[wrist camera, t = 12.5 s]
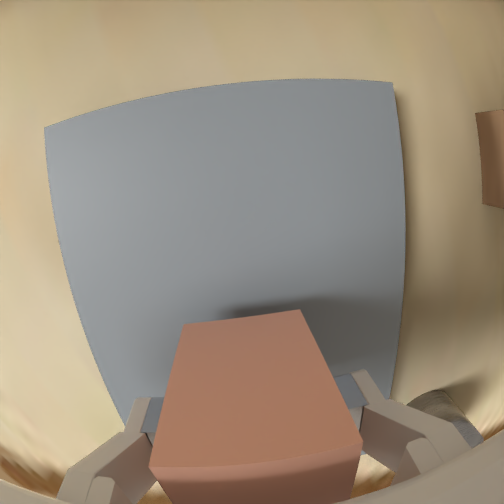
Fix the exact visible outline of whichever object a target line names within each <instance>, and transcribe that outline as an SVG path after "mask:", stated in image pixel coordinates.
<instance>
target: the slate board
mask: <svg viewBox="0 0 504 504" xmlns="http://www.w3.org/2000/svg"><path fill="white" fill-rule="evenodd" d="M44 134H45V149H46V161H47V170H48V179H49V187H50V194H51V201H52V207H53V213H54V219H55V224H56V229H57V234H58V239H59V244H60V248H61V253H62V257H63V261H64V265H65V269H66V273H67V277H68V281H69V284H70V288H71V291H72V295H73V298H74V301H75V305H76V308H77V311H78V314H79V317H80V320H81V323H82V326H83V329H84V332H85V335H86V338H87V340H88V343H89V346H90V348H91V351H92V354H93V356H94V359H95V361H96V364H97V366H98V369H99V371H100V374H101V376H102V378H103V381H104V383H105V385H106V387H107V390H108V392H109V394H110V396H111V398H112V400H113V403H114V405H115V407H116V409H117V411H118V413H119V415H120V417H121V419H122V421H123V423H124V425H125V426H126V423H127V421H128V418H129V415H130V412H131V409H132V406H133V404H134V401H135V399H136V398H138V397H151V398H152V397H165V393H166V389H167V385H168V381H169V377H170V373H171V369H172V365H173V362H174V358H175V354H176V350H177V347H178V343H179V339H180V335H181V332H182V328H183V325H184V324H190V323H199V322H209V321H217V320H226V319H234V318H242V317H249V316H257V315H264V314H271V313H278V312H285V311H291V310H298V309H300V310H301V312H302V314H303V316H304V318H305V321H306V323H307V325H308V327H309V329H310V331H311V333H312V335H313V337H314V339H315V341H316V343H317V345H318V347H319V349H320V351H321V353H322V355H323V357H324V360H325V362H326V364H327V366H328V368H329V370H330V372H331V374H332V376H333V377H334V376H339V375H343V374H347V373H350V372H354V371H358V370H362V369H365V370H366V371H367V372H368V374H369V375H370V377H371V378H372V380H373V381H374V383H375V384H376V386H377V387H378V389H379V390H380V392H381V393H382V395H383V396H384V398H385V400H387V399H389V397H390V392H391V387H392V381H393V375H394V369H395V363H396V356H397V349H398V341H399V333H400V324H401V314H402V303H403V290H404V272H405V191H404V173H403V160H402V149H401V139H400V130H399V122H398V115H397V108H396V101H395V95H394V89H393V84H392V83H391V82H381V81H367V80H349V79H285V80H266V81H252V82H241V83H231V84H223V85H215V86H207V87H200V88H194V89H188V90H182V91H176V92H171V93H165V94H160V95H155V96H151V97H146V98H142V99H137V100H133V101H129V102H125V103H121V104H117V105H113V106H110V107H106V108H102V109H99V110H96V111H92V112H89V113H86V114H82V115H79V116H76V117H73V118H70V119H67V120H64V121H61V122H59V123H56V124H53V125H50V126H48V127H45V128H44ZM364 454H367V453H365V452H364V451H361V455H364Z"/></svg>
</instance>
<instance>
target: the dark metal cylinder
mask: <svg viewBox="0 0 504 504" xmlns="http://www.w3.org/2000/svg"><path fill="white" fill-rule="evenodd" d="M407 406H409V407H412V408H414V409H417V410H419V411H422V412H424V413H427V414H429V415H432V416H435V417H437V418H440V419H443V420H445V421H448V422H451V423H452V424H453V425H454V426H455V427H456V429H457V430H458V431H459V433H460V434H461V435H462V437H463V438H464V439H465V440H466V442H467V443H468V444H469V446H470V447H471V448H474V447H476V446H478V445H479V444H481V443H483V437H482V436H481V434H480V433H479V432H478V431H477V429H476V428H475V427H474V426H473V425H472V423H471V422H470V421H469V420H468V419H467V417H466V416H465V415H464V414H463V413H462V411H461V410H460V409H459V408H458V407H457V405H456V404H455V403H454V402H453V401H452V400H451V398H450V397H449V396H448V395H447V394H446V393H445V392H444V391H441V390H434V391H430V392H427V393H425V394H422V395H420V396H419V397H417V398H415V399H414V400H412V401H411V402H410V403H408V404H407Z"/></svg>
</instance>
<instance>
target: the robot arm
mask: <svg viewBox="0 0 504 504" xmlns="http://www.w3.org/2000/svg"><path fill="white" fill-rule="evenodd" d="M333 378H334V380H335V382H336V385H337V387H338V389H339V391H340V393H341V395H342V397H343V399H344V401H345V403H346V406H347V408H348V410H349V412H350V414H351V416H352V418H353V420H354V423H355V425H356V427H357V429H358V431H359V433H360V435H361V437H362V440H363V446H362V451H364V452H365V453H367V454H368V455H370V456H371V457H373V458H374V459H376V460H377V461H379V462H380V463H382V464H383V465H385V466H386V467H388V468H389V469H391V470H392V471H394V472H396V474H395V476H394V479H393V481H392V483H391V485H390V487H387V488H384V489H381V490H378V491H375V492H372V493H369V494H366V495H363V496H359V497H356V498H352V499H349V500H345V501H341V502H337V503H333V504H504V429H503V430H502V431H500V432H499V433H497V434H496V435H494V436H492V437H491V438H489V439H488V440H486V441H484V442H483V443H481V444H479V445H478V446H476V447H474V448H471V447H470V446H469V444H468V443H467V442H466V440H465V439H464V438H463V437H462V435H461V434H460V433H459V431H458V430H457V429H456V427H455V426H454V425H453V424H452V423H451V422H448V421H445V420H443V419H440V418H437V417H435V416H432V415H429V414H427V413H424V412H422V411H419V410H417V409H414V408H412V407H409V406H407V405H404V404H402V403H399V402H397V401H394V400H392V399H387V400H385V398H384V396H383V395H382V393H381V392H380V390H379V389H378V387H377V386H376V384H375V383H374V381H373V380H372V378H371V377H370V375H369V374H368V372H367V371H366V370H365V369H362V370H358V371H354V372H350V373H347V374H343V375H339V376H334V377H333ZM163 401H164V397H152V398H151V397H138V398H136V399H135V401H134V404H133V406H132V409H131V412H130V415H129V418H128V421H127V423H126V426H125V429H124V432H119V433H117V434H116V435H115V436H113V437H112V438H111V439H109V440H108V441H107V442H105V443H104V444H103V445H101V446H100V447H99V448H97V449H96V450H94V451H93V452H92V453H90V454H89V455H87V456H86V457H85V458H83V459H82V460H81V461H79V462H78V463H76V464H75V465H73V466H72V467H71V468H69V469H68V470H67V473H66V475H65V478H64V480H63V482H62V485H61V487H60V490H59V492H58V495H57V497H56V499H55V498H51V497H48V496H45V495H42V494H39V493H36V492H33V491H30V490H27V489H25V488H22V487H19V486H17V485H14V484H12V483H9V482H6V481H4V480H2V479H0V504H137V502H138V501H139V500H140V499H141V498H142V497H143V496H144V495H145V494H146V492H147V491H148V490H149V489H150V488H151V487H152V486H153V484H154V483H155V482H156V481H157V479H156V478H155V476H154V475H153V473H152V471H151V470H150V468H149V467H148V466H149V462H150V457H151V452H152V448H153V443H154V439H155V435H156V430H157V426H158V422H159V418H160V413H161V409H162V405H163Z"/></svg>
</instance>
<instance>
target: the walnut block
mask: <svg viewBox="0 0 504 504" xmlns="http://www.w3.org/2000/svg"><path fill="white" fill-rule="evenodd" d="M475 115H476V121H477V128H478V136H479V145H480V156H481V170H482V194H483V204H486V205H491V206H495V207H499V208H504V110H496V111H488V112H480V113H475Z"/></svg>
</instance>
